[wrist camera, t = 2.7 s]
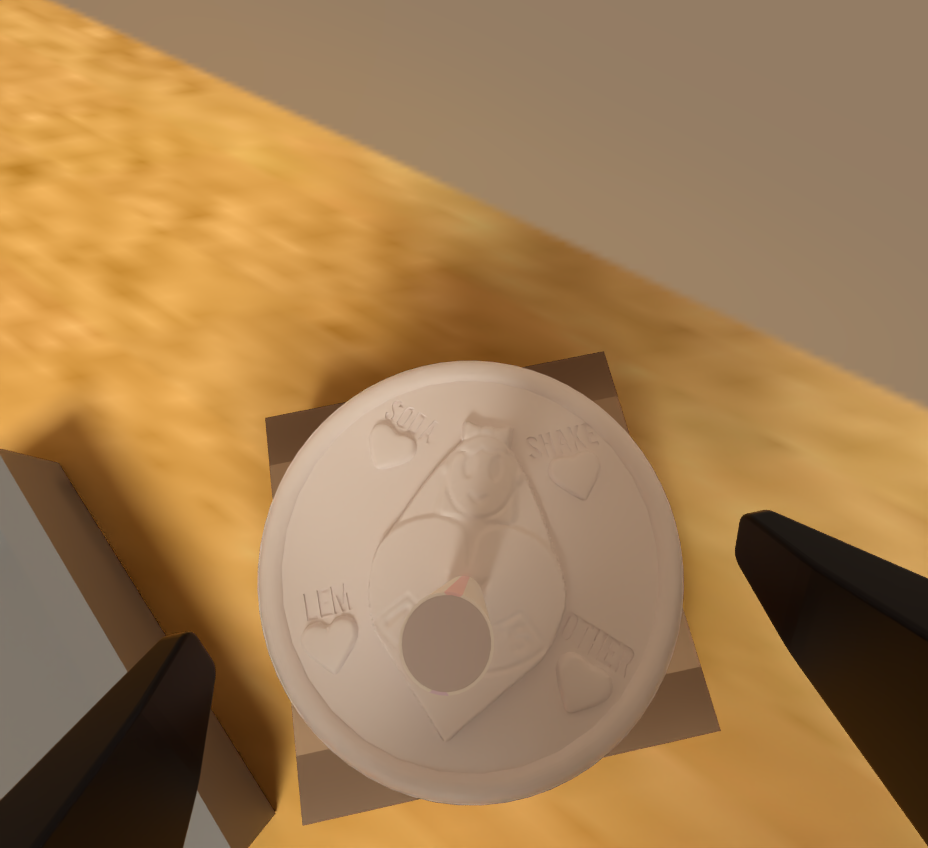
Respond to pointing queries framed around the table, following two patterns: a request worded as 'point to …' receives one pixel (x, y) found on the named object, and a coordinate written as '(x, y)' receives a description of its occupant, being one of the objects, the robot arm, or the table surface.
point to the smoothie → (470, 582)
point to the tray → (86, 644)
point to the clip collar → (665, 720)
